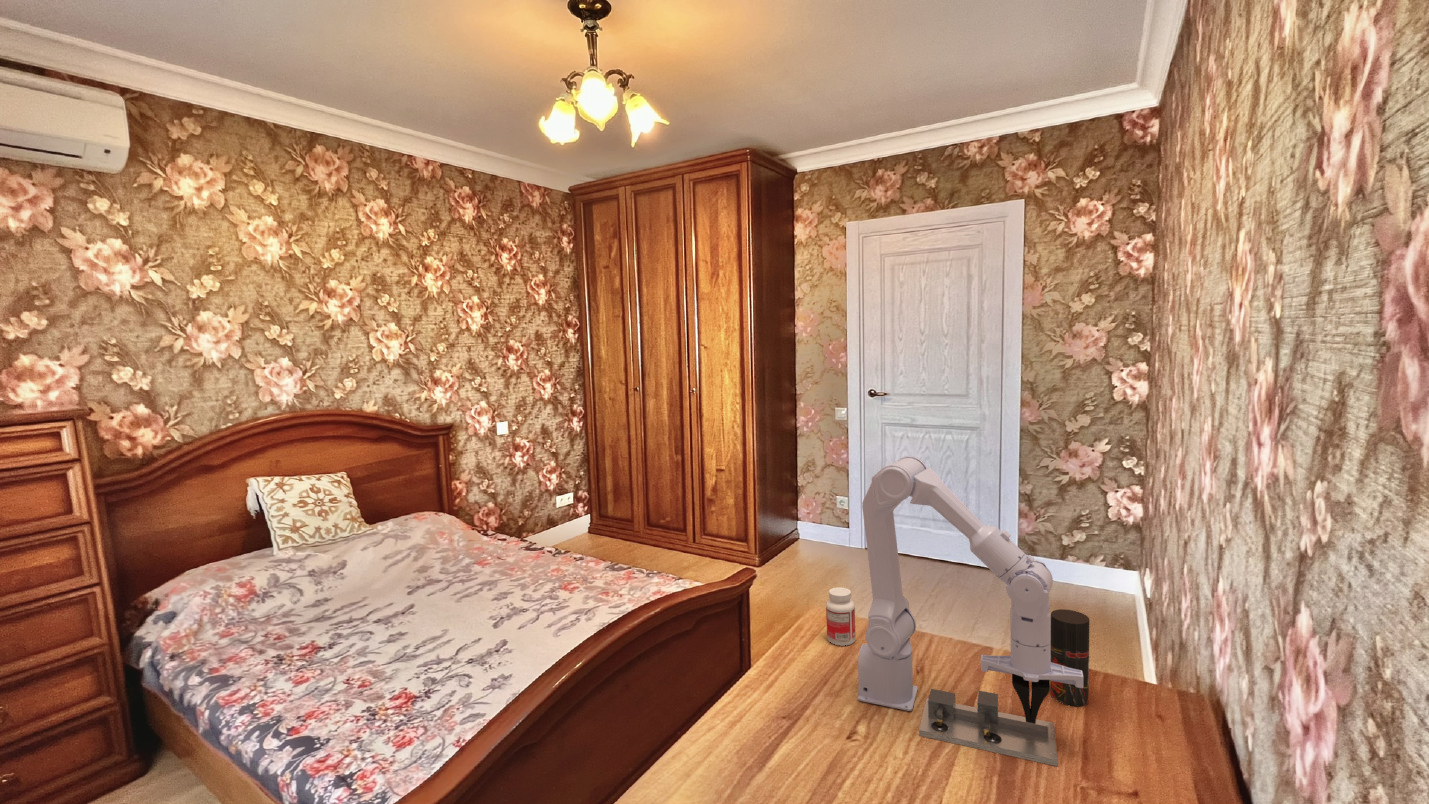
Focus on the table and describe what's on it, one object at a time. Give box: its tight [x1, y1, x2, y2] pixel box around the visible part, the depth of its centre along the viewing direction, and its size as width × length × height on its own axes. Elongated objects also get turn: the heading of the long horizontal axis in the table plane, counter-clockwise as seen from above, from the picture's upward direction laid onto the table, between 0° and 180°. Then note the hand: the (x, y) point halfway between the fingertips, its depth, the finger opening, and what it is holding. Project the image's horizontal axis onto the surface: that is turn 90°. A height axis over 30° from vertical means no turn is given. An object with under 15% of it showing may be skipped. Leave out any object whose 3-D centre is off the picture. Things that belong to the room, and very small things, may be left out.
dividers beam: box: [928, 688, 1048, 738], centre depth 102 cm, size 18×6×3 cm, turn 64°
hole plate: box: [918, 697, 1059, 767], centre depth 102 cm, size 20×10×1 cm, turn 64°
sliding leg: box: [976, 690, 999, 736], centre depth 102 cm, size 3×6×4 cm, turn 154°
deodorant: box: [1049, 608, 1090, 708], centre depth 110 cm, size 6×6×15 cm
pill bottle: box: [825, 586, 857, 647], centre depth 135 cm, size 6×6×11 cm
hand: (1030, 719), depth 100 cm, fingers closed
